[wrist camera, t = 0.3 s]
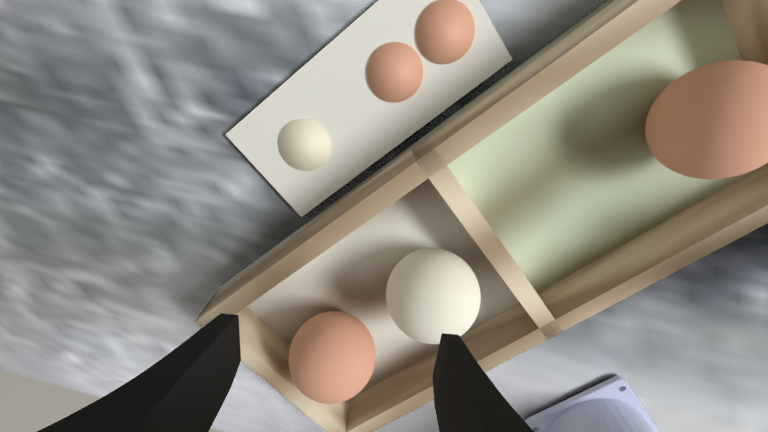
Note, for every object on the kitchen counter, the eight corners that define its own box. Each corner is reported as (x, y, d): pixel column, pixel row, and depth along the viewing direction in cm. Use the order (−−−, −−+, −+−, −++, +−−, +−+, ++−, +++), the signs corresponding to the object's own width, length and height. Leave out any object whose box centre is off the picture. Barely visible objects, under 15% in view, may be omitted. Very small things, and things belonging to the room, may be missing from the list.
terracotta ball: (391, 332, 23) (394, 398, 19) (333, 367, 25) (321, 437, 20) (342, 280, 22) (332, 338, 17) (282, 320, 23) (257, 384, 18)
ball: (738, 124, 18) (858, 144, 14) (643, 181, 19) (724, 217, 15) (707, 37, 17) (830, 26, 12) (605, 104, 18) (683, 118, 13)
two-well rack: (780, 158, 20) (856, 176, 17) (348, 401, 27) (344, 446, 24) (704, -72, 16) (786, -107, 13) (221, 285, 23) (194, 321, 20)
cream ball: (484, 277, 22) (511, 333, 17) (417, 317, 23) (425, 381, 18) (438, 216, 20) (455, 261, 16) (368, 263, 21) (364, 317, 17)
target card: (510, 59, 18) (513, 59, 18) (302, 215, 21) (301, 217, 21) (444, -57, 16) (446, -60, 16) (227, 133, 19) (224, 134, 19)
